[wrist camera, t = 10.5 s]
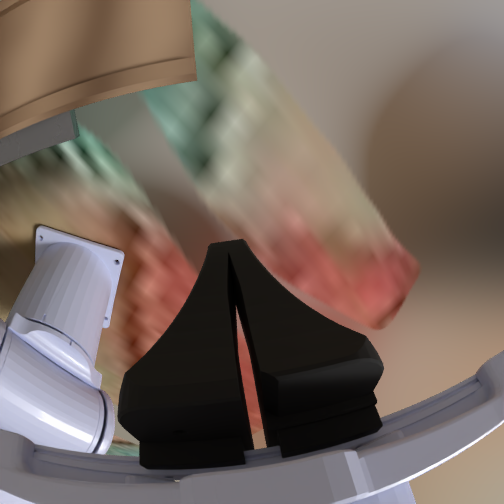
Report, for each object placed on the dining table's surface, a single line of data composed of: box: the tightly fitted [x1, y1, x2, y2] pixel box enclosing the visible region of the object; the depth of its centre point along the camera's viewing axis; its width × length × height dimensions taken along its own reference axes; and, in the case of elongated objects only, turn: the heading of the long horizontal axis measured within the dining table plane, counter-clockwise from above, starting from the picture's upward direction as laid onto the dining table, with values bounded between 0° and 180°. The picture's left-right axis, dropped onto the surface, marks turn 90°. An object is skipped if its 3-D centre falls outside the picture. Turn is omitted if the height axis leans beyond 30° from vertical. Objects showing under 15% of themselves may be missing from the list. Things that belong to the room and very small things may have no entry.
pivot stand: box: [0, 109, 80, 166], centre depth 11 cm, size 8×13×3 cm, turn 4°
